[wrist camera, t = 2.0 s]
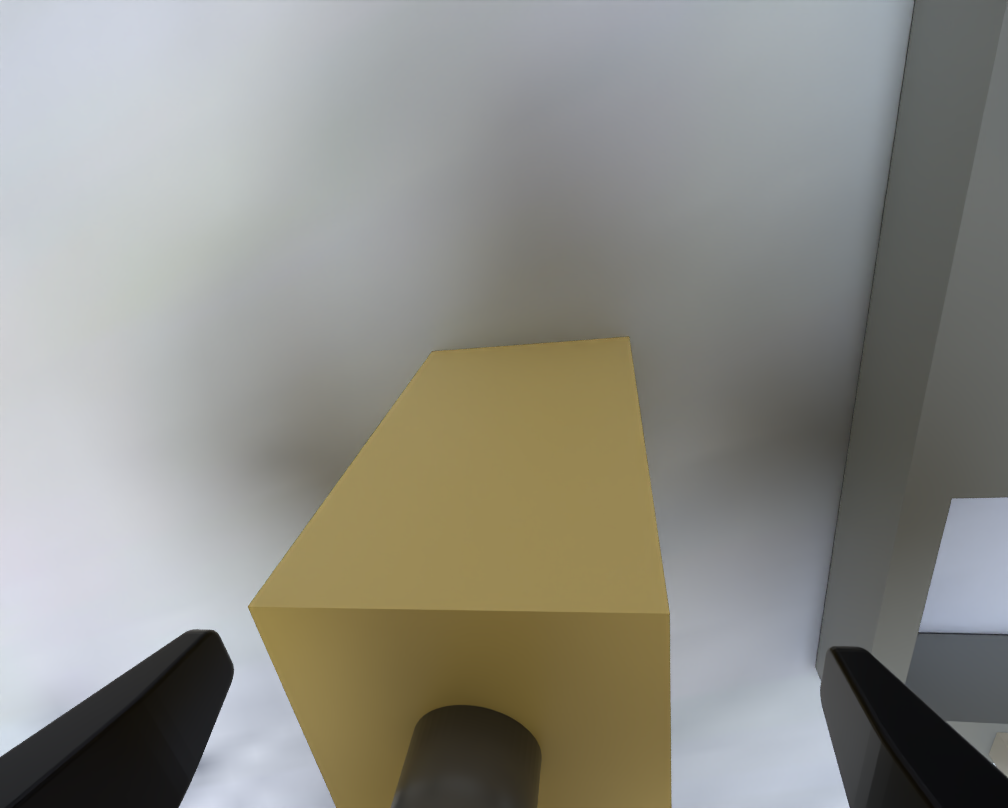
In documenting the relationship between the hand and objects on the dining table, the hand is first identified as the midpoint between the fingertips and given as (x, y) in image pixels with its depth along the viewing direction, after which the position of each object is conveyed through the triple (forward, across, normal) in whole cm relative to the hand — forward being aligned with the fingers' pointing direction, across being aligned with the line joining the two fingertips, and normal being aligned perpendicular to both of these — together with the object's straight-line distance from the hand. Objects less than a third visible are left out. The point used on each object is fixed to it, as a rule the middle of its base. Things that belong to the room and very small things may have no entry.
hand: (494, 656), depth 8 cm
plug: (+7, 0, 0) cm, 7 cm away
